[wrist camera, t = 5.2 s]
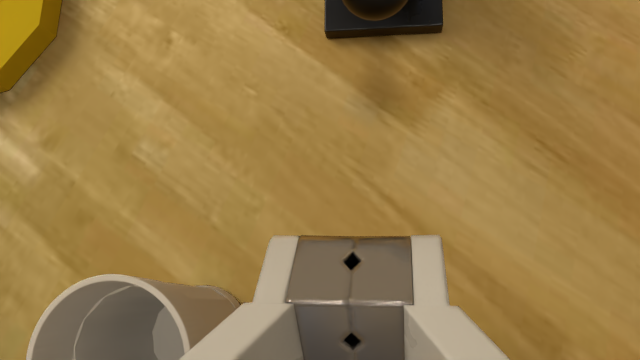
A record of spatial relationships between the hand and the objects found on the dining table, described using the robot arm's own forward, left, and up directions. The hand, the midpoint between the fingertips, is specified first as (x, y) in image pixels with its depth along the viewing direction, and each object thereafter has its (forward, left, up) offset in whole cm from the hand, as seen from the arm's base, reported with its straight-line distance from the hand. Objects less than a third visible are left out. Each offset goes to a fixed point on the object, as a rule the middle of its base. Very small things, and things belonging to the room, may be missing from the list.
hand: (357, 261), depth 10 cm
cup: (+13, -2, -26) cm, 29 cm away
